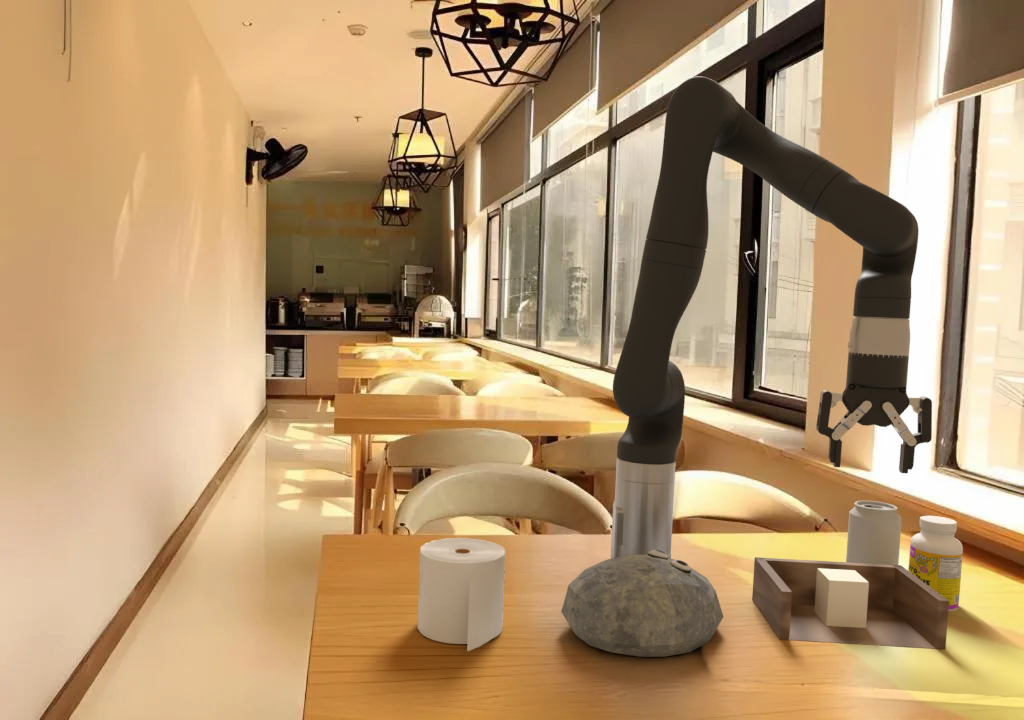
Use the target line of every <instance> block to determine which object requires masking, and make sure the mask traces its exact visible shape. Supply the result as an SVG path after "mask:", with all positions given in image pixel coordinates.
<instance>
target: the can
mask: <svg viewBox="0 0 1024 720" xmlns="http://www.w3.org/2000/svg"><path fill="white" fill-rule="evenodd" d="M853 505H854V506H853V508H851V510H849V512H848V527H847V528H848V529H847V542H846V554H845V555H846V556H845V562H849V563H867V564H885V565H899V564H900V563H899V561H900V560H899V558H900V550H901V549H900V547H901V546H900V545H901V530H902V520H903V519H902V517H901V516H900V514H899V513H898V512H897V511H898V509H899V508H898V507H897V506H896V505H894V504H892V503H888V502H883V501H875V500H857V501H855V502H854V503H853Z"/></svg>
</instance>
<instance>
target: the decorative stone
mask: <svg viewBox="0 0 1024 720" xmlns="http://www.w3.org/2000/svg"><path fill="white" fill-rule="evenodd" d="M560 612H561V613H562V615H563V617H564V619H565V620H566V622H567V624H568V625H569V627H570V629H571V630H572V631H573V633H574V634H575V635H576V637H577V638H579V640H581V641H583V642H585V643H586V644H587V645H588V646H590V647H593V648H597V649H599V650H603V651H606V652H610V653H612V654H613V653H614V654H619V655H620V654H621V655H626V656H627V655H628V656H633V657H640V658H641V657H643V658H650V657H652V658H655V657H657V658H658V657H659V658H660V657H661V658H662V657H663V658H664V657H670V656H674V655H680V654H687V653H691V652H693V651H695V650H696V649H699V648H700V647H703V645H705V644H707V643H709V642H710V641H711V640H712V638H713V636H714V634H715V632H716V630H717V629H718V627H719V625H720V624H721V622H722V620H723V618H724V614H723V610H722V607H721V604H720V601H719V597H718V594H717V590H716V589H715V587H714V586H713V585H712V583H711V582H710V580H709V579H708V577H706V576H705V575H703V574H701V573H700V572H699V571H697V570H695V569H694V568H693V567H691V566H690V565H689V564H688V563H687V562H686V561H683V560H678V559H675V558H674V559H673V558H671V559H670V558H668V555H667V554H666V553H664V552H662V551H659V550H652V551H650V552H648V555H626V556H622V557H617V558H613V559H611V558H608V559H605V560H603V561H601V562H598V563H596V564H593V565H591V566H589V567H587V568H585V569H584V570H583V571H581V572H580V573H579V574H578V575H577V576H576V577H575V578H574V579H573V580H572V581H571V582H570V583H569V584H568V586H567V590H566V594H565V596H564V600H563V604H562V608H561V611H560Z"/></svg>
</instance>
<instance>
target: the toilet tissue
mask: <svg viewBox="0 0 1024 720" xmlns="http://www.w3.org/2000/svg"><path fill="white" fill-rule="evenodd" d="M419 552H420V553H419V573H418V574H419V575H418V576H419V582H418V601H417V603H418V604H417V605H418V609H417V630H418V632H419V633H420V634H421V635H422V636H424V637H426V638H428V639H429V640H432V641H435V642H439V643H445V644H453V645H467V646H466V647H467V648H466V652H470V651H472V650H474V649H477V648H480V647H481V646H483V645H485V644H487V643H488V642H489V641H491V640H492V639H494V638H496V637H498V636H499V635H500V634H501V633H502V630H503V623H504V619H503V618H504V617H503V615H504V597H505V596H504V593H505V582H506V581H505V573H506V570H505V568H506V549H505V548H504V547H503V546H501V545H500V544H498V543H495V542H494V541H493V542H492V541H488V540H484V539H478V538H468V537H467V538H465V537H456V538H455V537H453V538H452V537H451V538H449V537H446V538H442V539H435V540H431V541H430V542H425V543H424V544H423V545H421V546H420V551H419Z"/></svg>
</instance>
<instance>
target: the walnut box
mask: <svg viewBox="0 0 1024 720" xmlns="http://www.w3.org/2000/svg"><path fill="white" fill-rule="evenodd" d="M753 563H754V564H753V579H752V581H753V582H752V599H751V600H752V602H753V603H754V604H755V605H756V608H757V609H758V610H759V612H760V613H761V616H763V618H764V619H765V621H766V622H767V624H768V625H769V627H770V628H771V630H772V631H773V633H774V634H775V635H776V637H777V639H778V640H779V641H781V640H783V641H798V642H799V641H800V642H813V643H830V644H831V643H833V644H848V645H849V644H850V645H864V646H865V645H866V646H867V645H868V646H879V647H881V646H882V647H896V648H897V647H900V648H915V649H931V650H946V648H947V647H946V646H947V636H948V635H947V634H948V623H949V622H948V620H949V611H948V609H949V601H948V600H947V599H946V598H944V597H943V596H942V595H940V594H939V593H938V592H936V591H935V590H934V589H932V588H931V587H929V586H928V585H927V584H925V583H924V582H923V581H921V580H920V579H919V578H917V577H916V576H915V575H913V574H912V573H910V572H909V571H908V570H909V569H906V567H904V566H902V565H901V564H898V565H885V564H867V563H849V562H846V561H845V562H844V561H827V560H811V559H795V558H794V559H792V558H776V557H773V558H772V557H756V556H755V557H754V562H753ZM817 568H823V569H841V570H855V571H856V572H857V573H859V574H860V575H861V576H862V577H863V578H864V579H865V580H867V581H868V582H869V589H868V604H867V618H866V628H857V627H840V626H826V625H825V623H824V622H823V621H822V620H821V619H820V618H819V616H818V615H817V614H816V613H815V612H814V609H815V594H816V578H817Z"/></svg>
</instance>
